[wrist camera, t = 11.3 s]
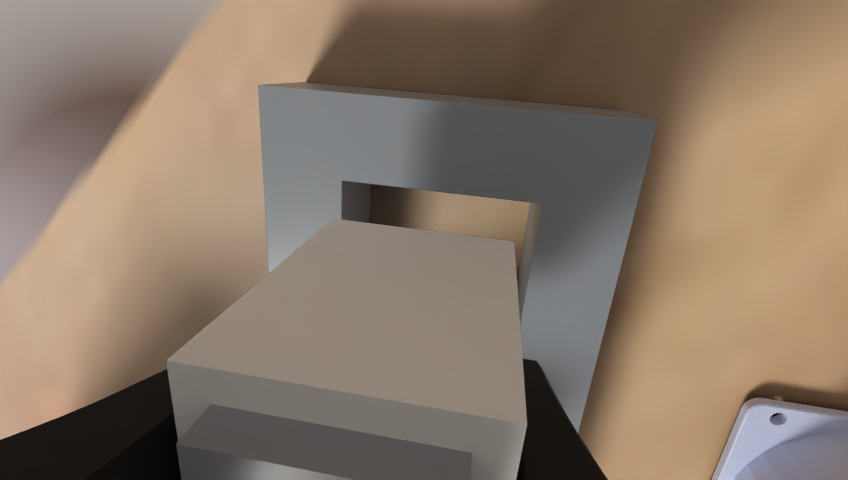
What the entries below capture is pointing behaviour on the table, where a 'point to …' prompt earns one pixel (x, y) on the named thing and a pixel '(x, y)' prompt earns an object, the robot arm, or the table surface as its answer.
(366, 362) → the plug
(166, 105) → the table surface
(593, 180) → the socket plate
